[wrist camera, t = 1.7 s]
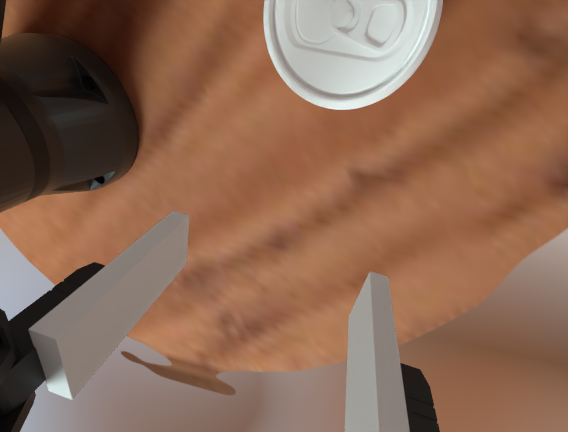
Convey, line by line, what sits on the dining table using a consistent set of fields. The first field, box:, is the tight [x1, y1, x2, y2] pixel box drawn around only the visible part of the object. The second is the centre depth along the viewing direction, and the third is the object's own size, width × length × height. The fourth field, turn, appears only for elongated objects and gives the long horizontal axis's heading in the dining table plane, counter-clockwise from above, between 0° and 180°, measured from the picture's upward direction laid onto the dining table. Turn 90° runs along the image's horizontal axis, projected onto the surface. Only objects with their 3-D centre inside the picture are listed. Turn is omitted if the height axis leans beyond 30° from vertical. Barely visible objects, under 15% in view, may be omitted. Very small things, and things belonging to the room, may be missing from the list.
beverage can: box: [264, 0, 443, 110], centre depth 18 cm, size 8×8×12 cm
